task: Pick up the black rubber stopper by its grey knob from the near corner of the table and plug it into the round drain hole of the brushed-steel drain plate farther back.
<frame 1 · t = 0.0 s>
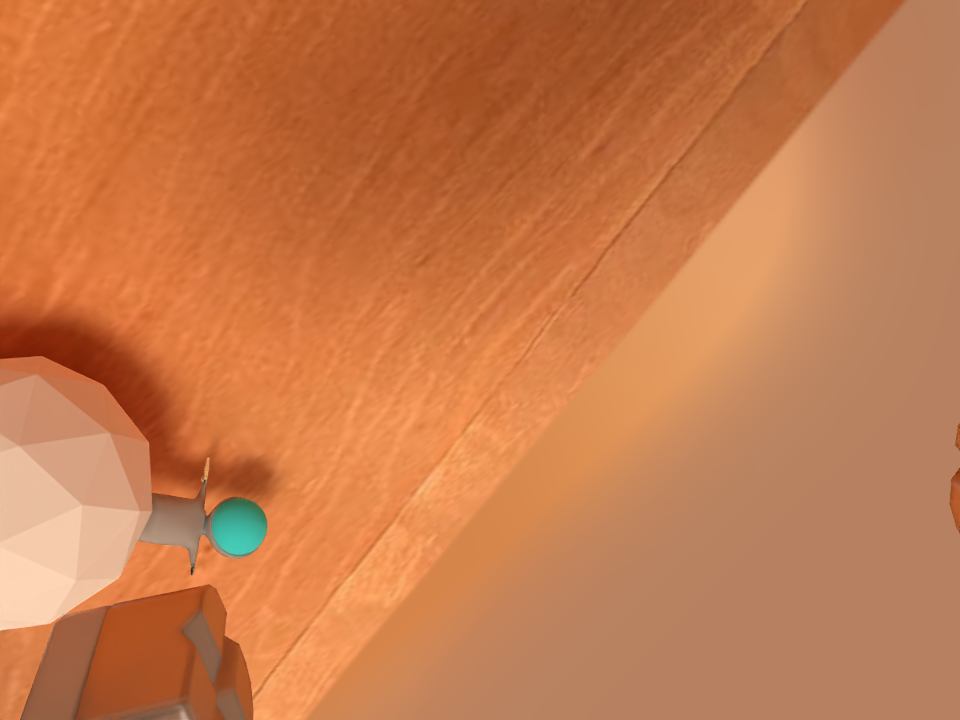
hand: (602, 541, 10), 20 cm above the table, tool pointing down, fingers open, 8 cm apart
perfume bottle: (101, 437, 31), on the table
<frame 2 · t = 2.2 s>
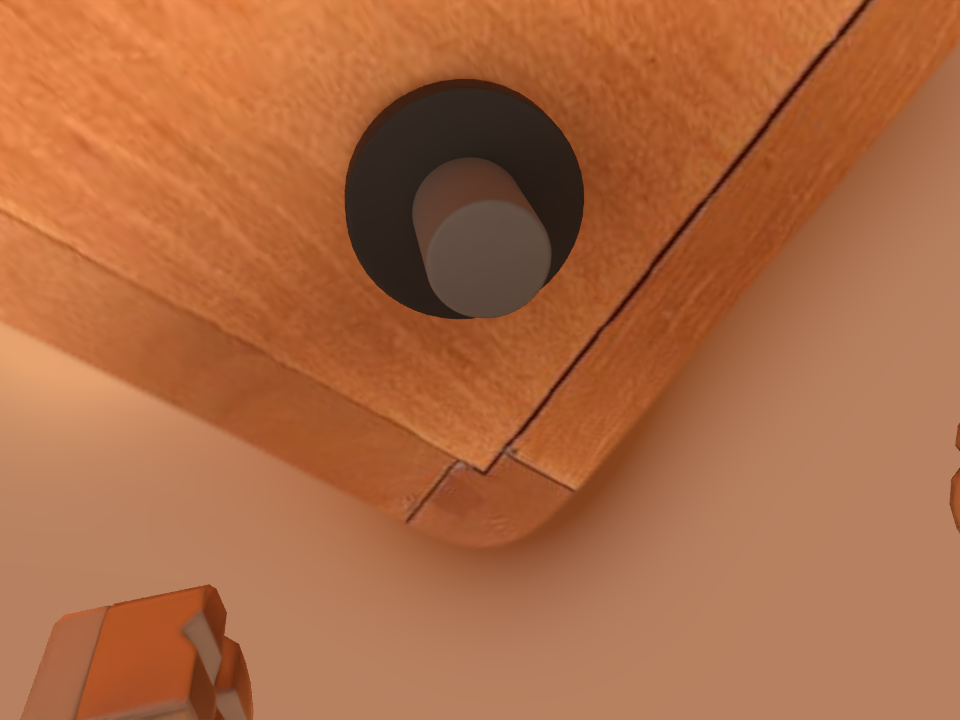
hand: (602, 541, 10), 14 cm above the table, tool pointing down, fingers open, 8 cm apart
stopper: (449, 169, 23), on the table
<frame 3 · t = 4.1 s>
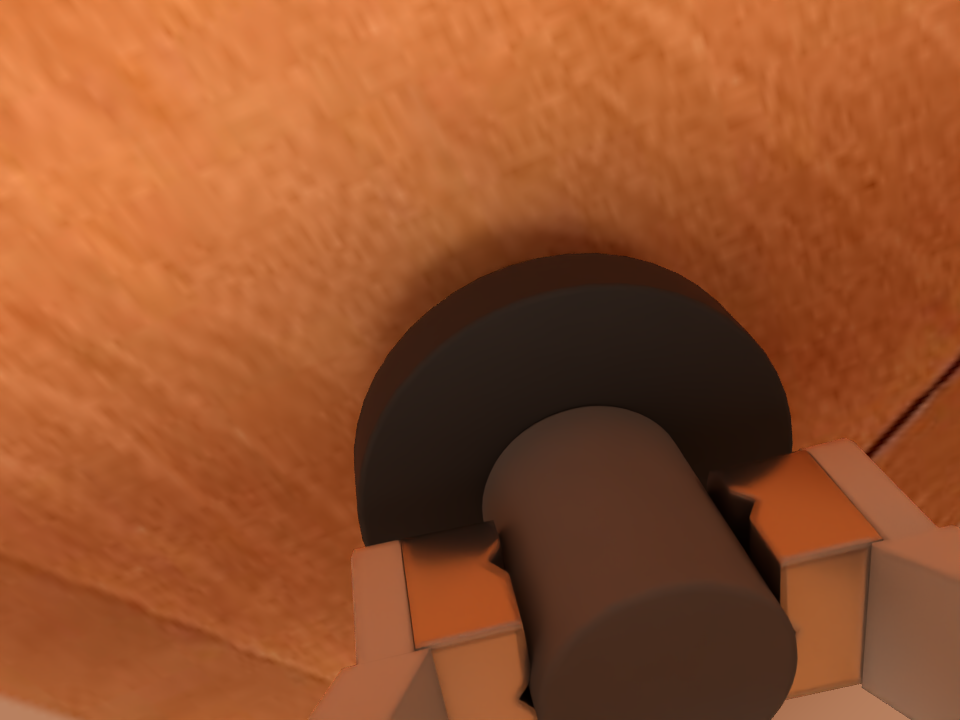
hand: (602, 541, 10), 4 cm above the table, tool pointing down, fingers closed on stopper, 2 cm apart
stopper: (525, 364, 13), on the table, touching gripper
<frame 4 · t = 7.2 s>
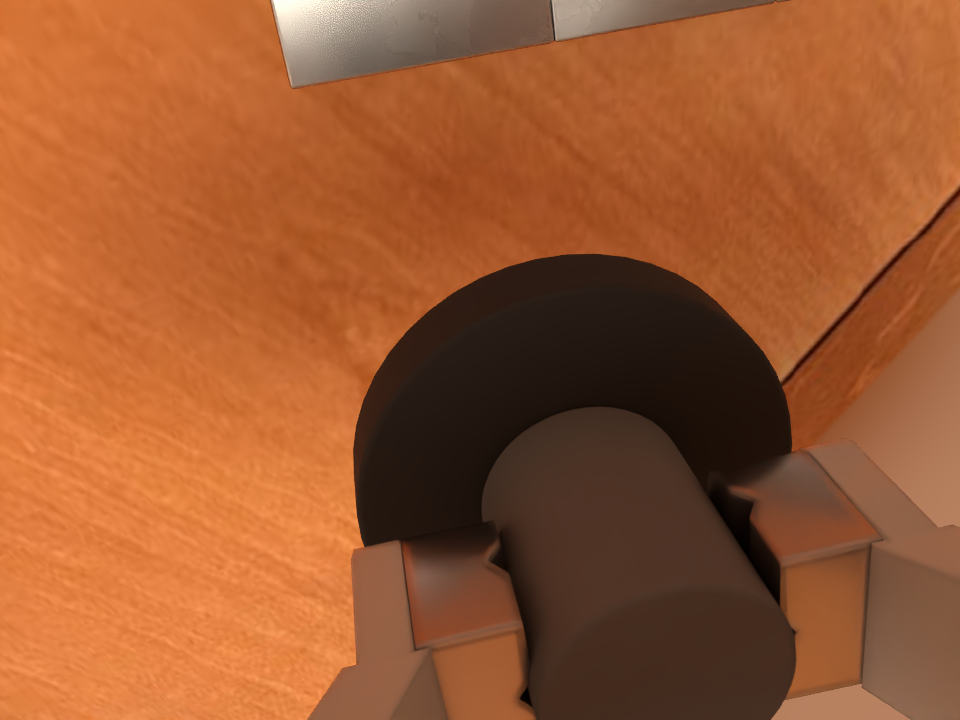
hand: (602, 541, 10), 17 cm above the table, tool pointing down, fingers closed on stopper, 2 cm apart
stopper: (525, 365, 13), point 13 cm above the table, touching gripper
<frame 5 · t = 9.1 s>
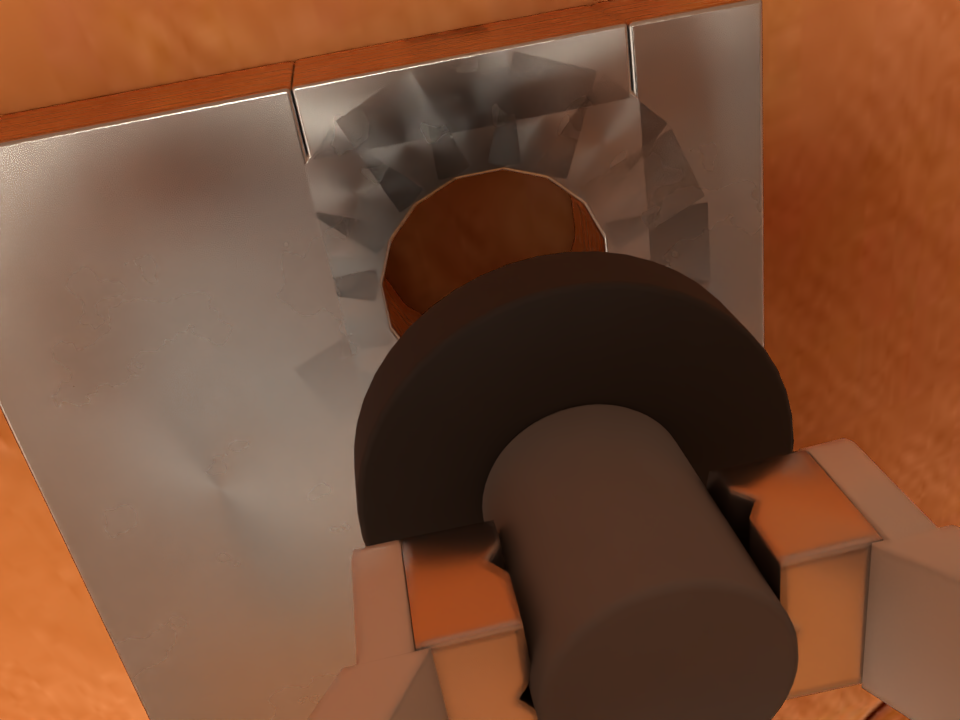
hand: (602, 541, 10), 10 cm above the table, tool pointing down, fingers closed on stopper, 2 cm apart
stopper: (526, 363, 13), point 6 cm above the table, touching gripper
drain plate: (408, 383, 20), on the table
when the fingers open (4 cm above the table, at t = 10.7 s): stopper stays where it is, resting on drain plate.
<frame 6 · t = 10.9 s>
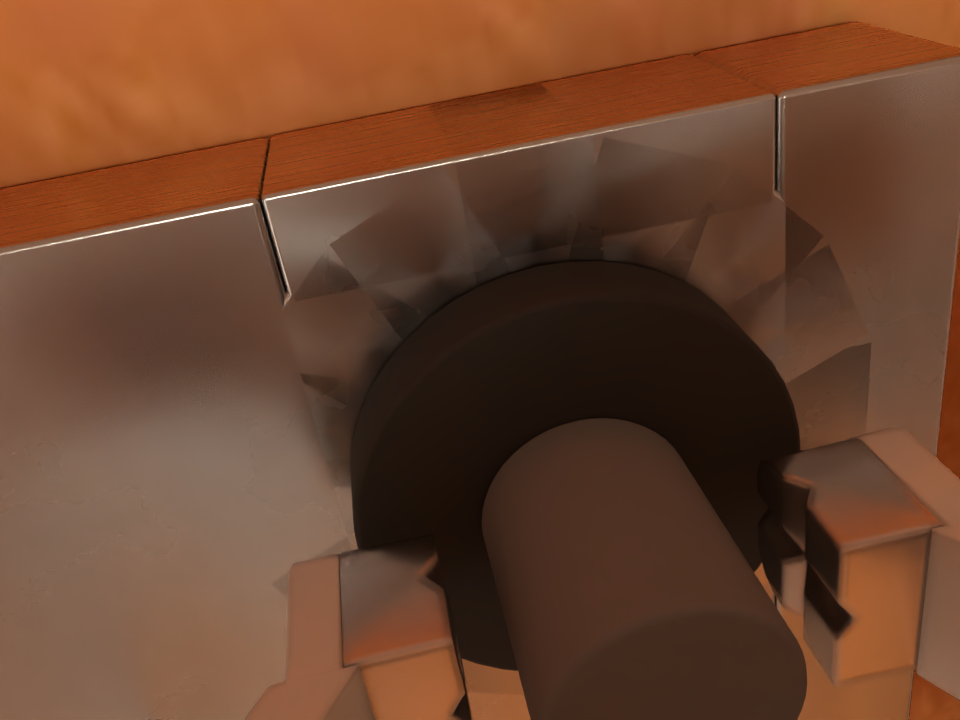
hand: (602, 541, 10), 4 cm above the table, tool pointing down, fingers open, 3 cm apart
stopper: (527, 372, 13), resting on drain plate
drain plate: (428, 552, 15), on the table
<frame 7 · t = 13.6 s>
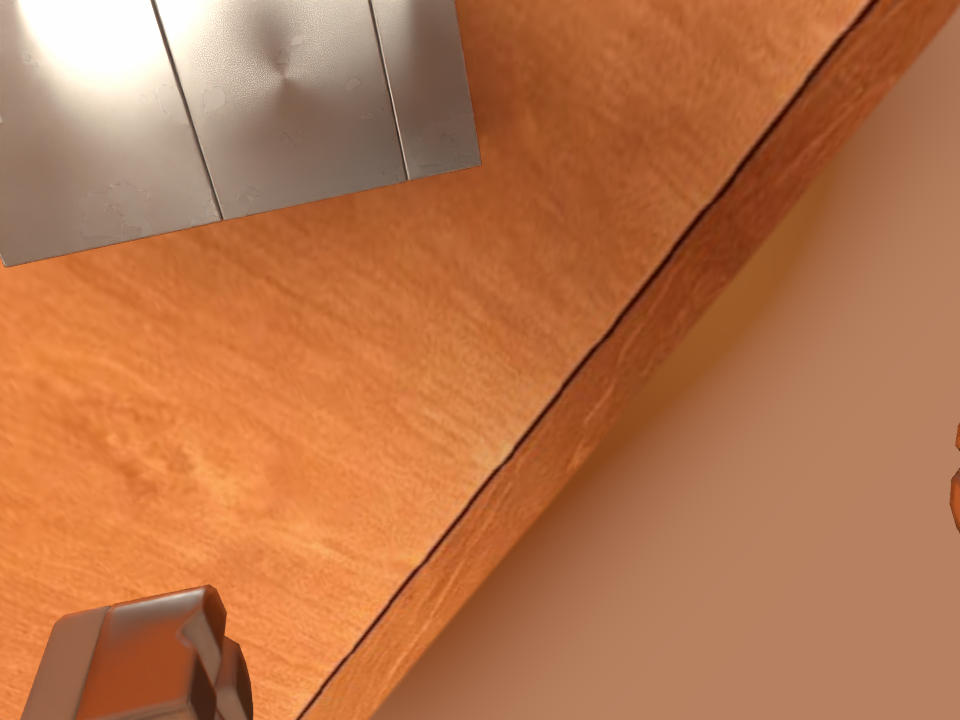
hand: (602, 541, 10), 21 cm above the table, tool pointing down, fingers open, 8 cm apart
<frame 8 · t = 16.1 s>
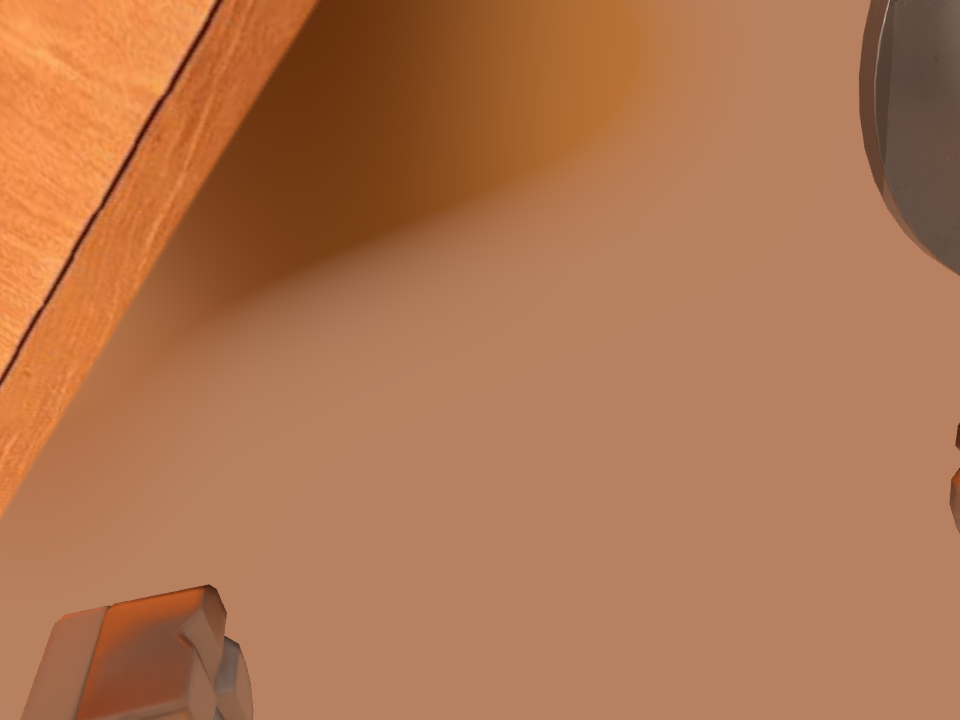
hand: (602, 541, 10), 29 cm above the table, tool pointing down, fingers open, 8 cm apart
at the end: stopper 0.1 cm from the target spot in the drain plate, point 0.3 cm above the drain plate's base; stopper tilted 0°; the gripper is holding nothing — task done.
